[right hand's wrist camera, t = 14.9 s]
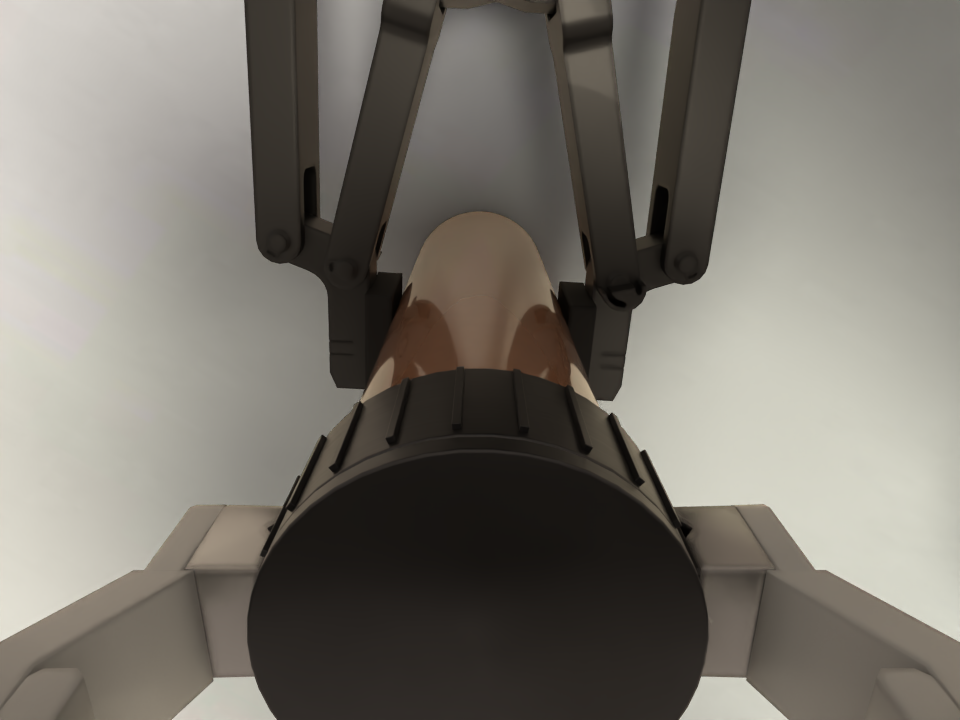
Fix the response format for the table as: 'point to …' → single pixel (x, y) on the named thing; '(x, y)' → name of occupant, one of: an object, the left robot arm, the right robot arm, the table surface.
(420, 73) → the left robot arm
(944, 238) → the table surface
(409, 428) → the lid
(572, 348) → the jar
